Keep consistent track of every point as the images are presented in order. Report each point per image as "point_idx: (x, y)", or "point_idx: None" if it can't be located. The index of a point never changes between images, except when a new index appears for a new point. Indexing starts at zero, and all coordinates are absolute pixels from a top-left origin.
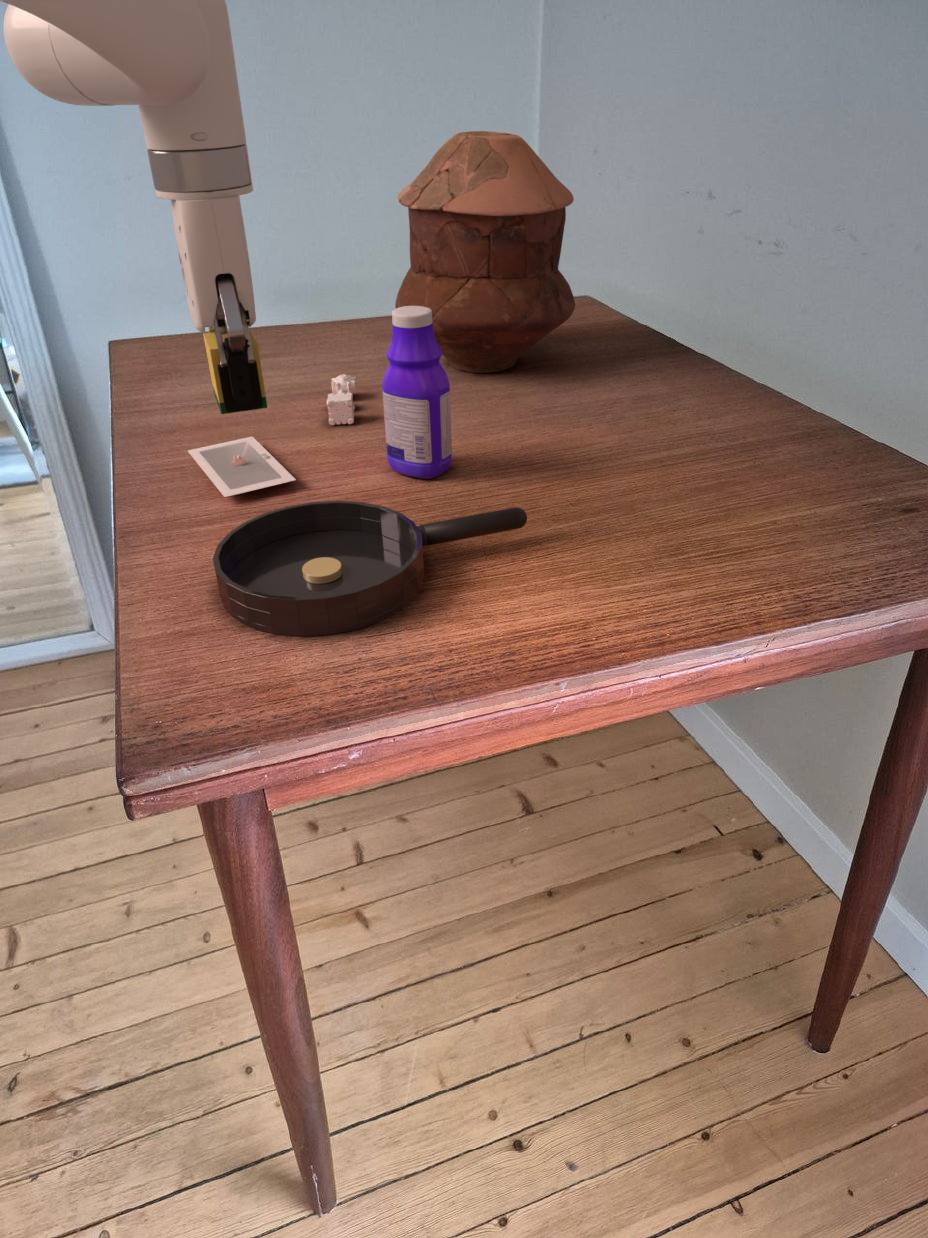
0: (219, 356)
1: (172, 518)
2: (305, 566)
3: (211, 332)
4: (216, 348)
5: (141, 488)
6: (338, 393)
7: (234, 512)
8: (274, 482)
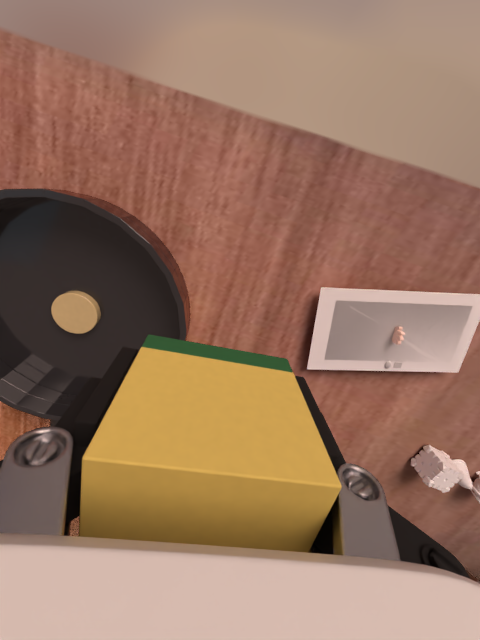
0: (57, 457)
1: (333, 215)
2: (82, 299)
3: (338, 507)
4: (83, 478)
5: (449, 208)
6: (468, 481)
7: (296, 286)
8: (317, 348)
